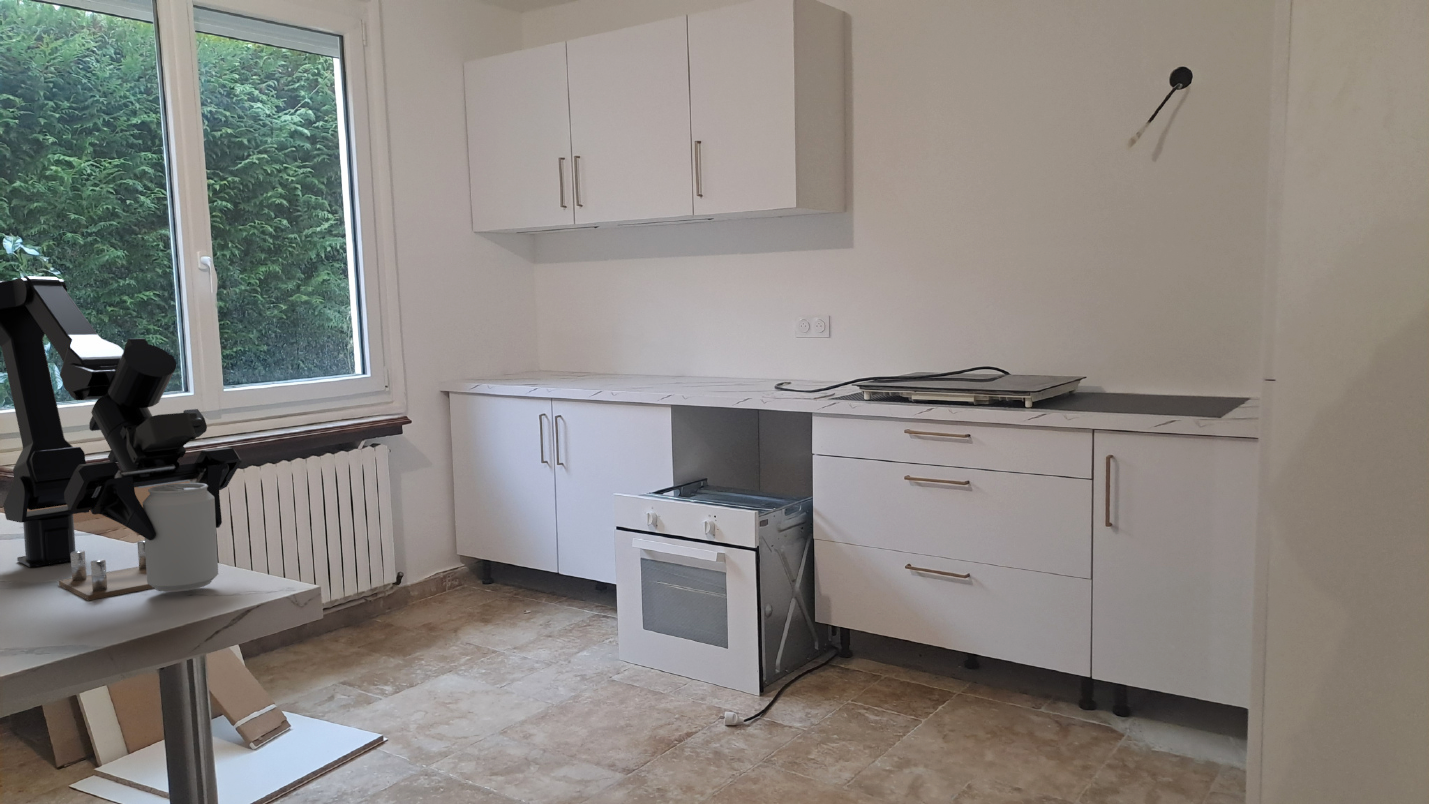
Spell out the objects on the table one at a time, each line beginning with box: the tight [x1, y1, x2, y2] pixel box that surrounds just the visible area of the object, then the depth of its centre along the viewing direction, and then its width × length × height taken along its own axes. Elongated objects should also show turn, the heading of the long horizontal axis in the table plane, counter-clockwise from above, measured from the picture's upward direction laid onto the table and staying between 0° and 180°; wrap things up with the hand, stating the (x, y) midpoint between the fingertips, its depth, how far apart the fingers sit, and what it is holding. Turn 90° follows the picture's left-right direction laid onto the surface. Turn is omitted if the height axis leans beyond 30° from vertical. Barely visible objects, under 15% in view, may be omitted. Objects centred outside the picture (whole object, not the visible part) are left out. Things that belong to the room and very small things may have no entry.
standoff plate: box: [58, 539, 155, 601], centre depth 121 cm, size 11×11×4 cm
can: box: [142, 482, 219, 593], centre depth 116 cm, size 8×8×12 cm
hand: (187, 531), depth 115 cm, fingers closed on can, 7 cm apart
